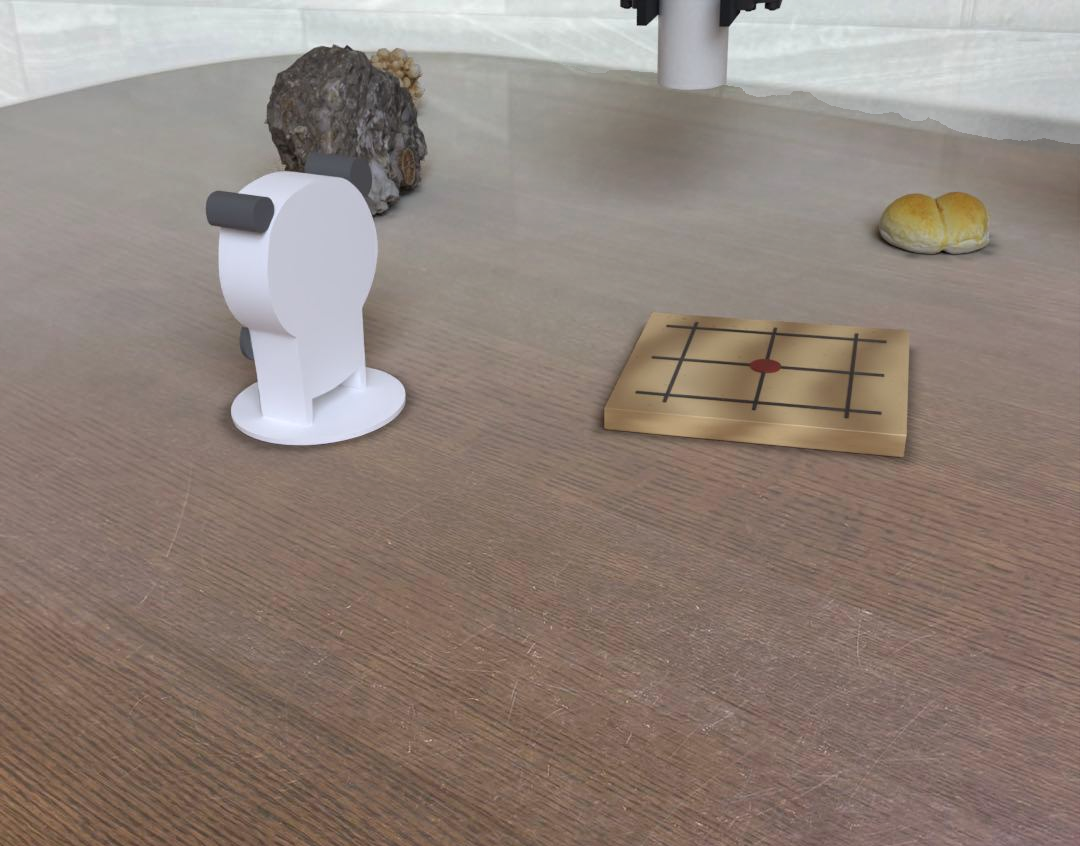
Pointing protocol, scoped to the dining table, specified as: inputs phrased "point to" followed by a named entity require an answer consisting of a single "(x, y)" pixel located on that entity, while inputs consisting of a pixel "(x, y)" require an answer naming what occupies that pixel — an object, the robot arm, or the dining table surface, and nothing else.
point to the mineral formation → (401, 70)
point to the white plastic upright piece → (304, 302)
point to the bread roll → (936, 223)
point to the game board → (766, 384)
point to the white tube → (691, 45)
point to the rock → (348, 119)
